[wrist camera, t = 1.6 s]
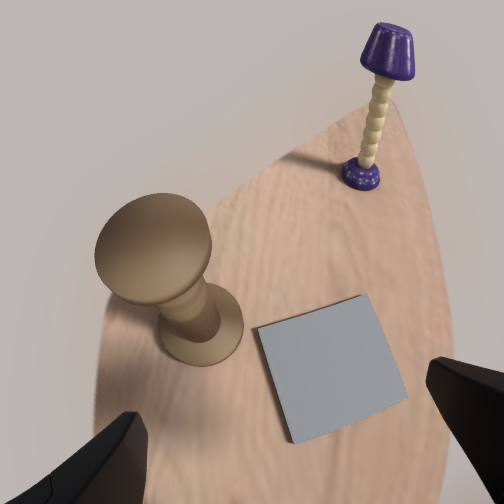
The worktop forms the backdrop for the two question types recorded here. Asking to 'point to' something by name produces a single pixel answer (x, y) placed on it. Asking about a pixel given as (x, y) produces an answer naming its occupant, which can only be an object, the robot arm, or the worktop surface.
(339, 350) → the grey mat
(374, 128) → the toy lamp
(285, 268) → the worktop surface
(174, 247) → the walnut stool
